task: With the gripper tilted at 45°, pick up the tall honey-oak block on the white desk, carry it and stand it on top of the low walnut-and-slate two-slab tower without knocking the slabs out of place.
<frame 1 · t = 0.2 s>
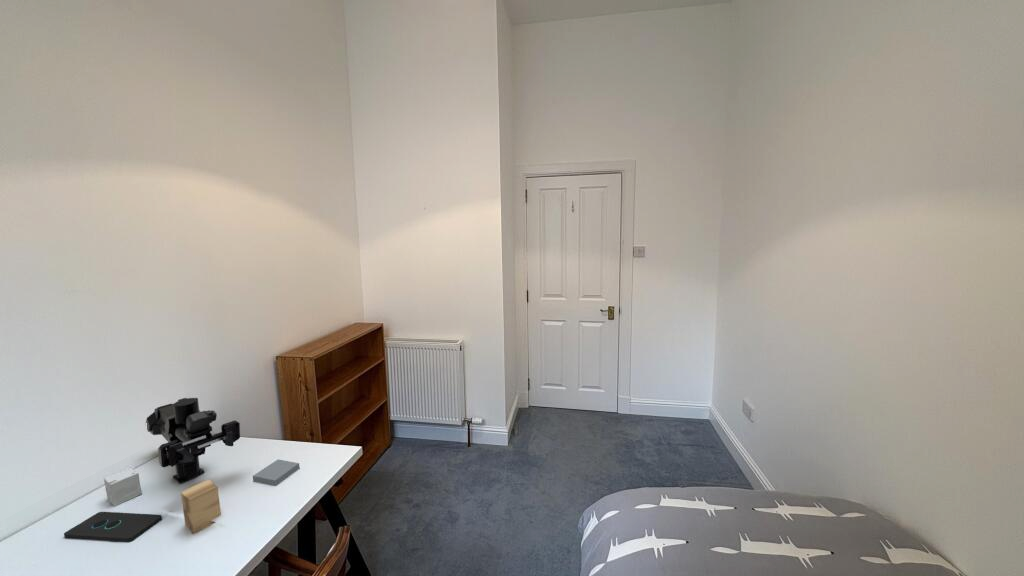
hand: (213, 451, 102), 16 cm above the table, tool horizontal, fingers open, 9 cm apart
smart home device: (115, 530, 95), on the table
skincare box: (124, 498, 107), on the table
slate top slab: (277, 475, 115), point 1 cm above the table, touching walnut base slab
honey oak block: (203, 522, 97), on the table
walnut base slab: (277, 480, 115), on the table, touching slate top slab
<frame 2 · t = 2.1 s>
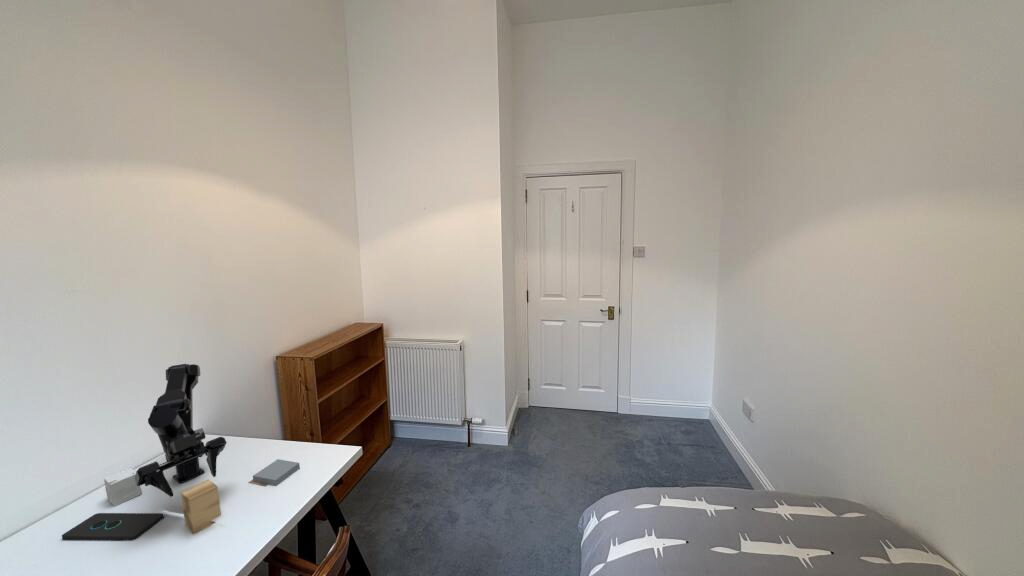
hand: (194, 485, 97), 10 cm above the table, tool tilted 45°, fingers open, 9 cm apart
nothing on the table moved.
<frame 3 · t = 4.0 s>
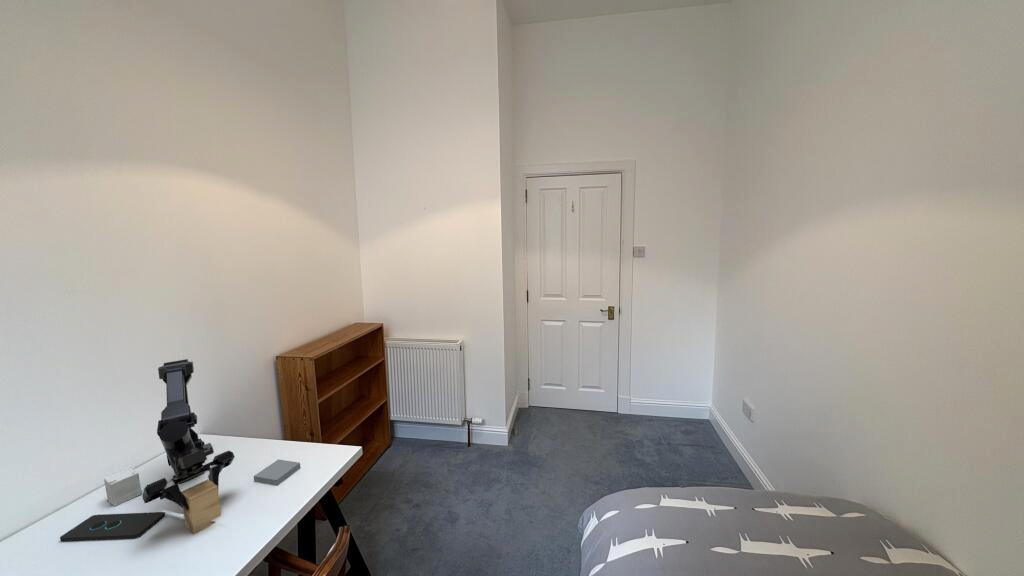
hand: (202, 502, 95), 7 cm above the table, tool tilted 45°, fingers closed on honey oak block, 6 cm apart
honey oak block: (203, 522, 97), on the table, touching gripper
everything else where it was.
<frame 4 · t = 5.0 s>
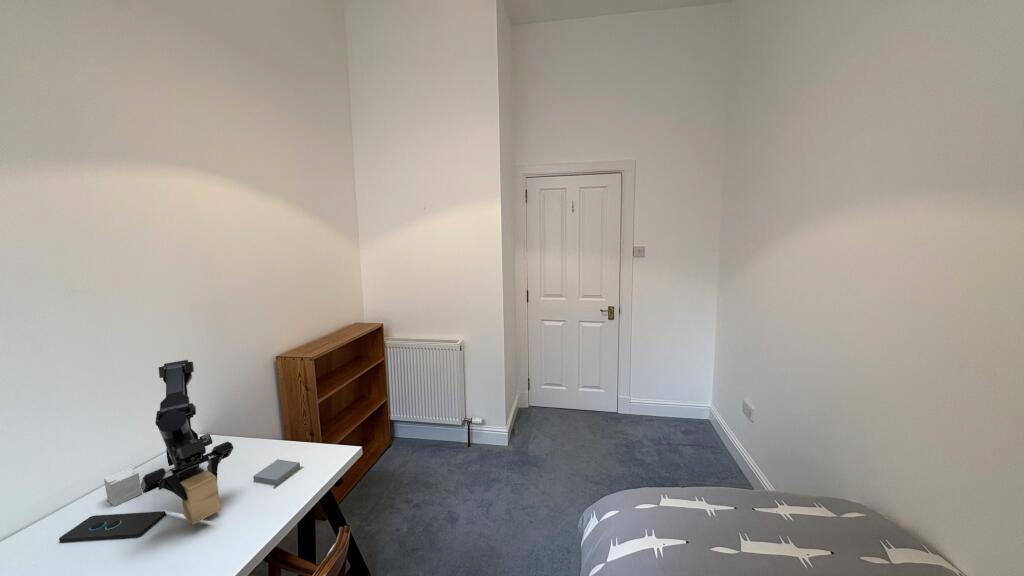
hand: (201, 492, 95), 9 cm above the table, tool tilted 45°, fingers closed on honey oak block, 6 cm apart
honey oak block: (202, 512, 97), point 3 cm above the table, touching gripper
everything else where it was.
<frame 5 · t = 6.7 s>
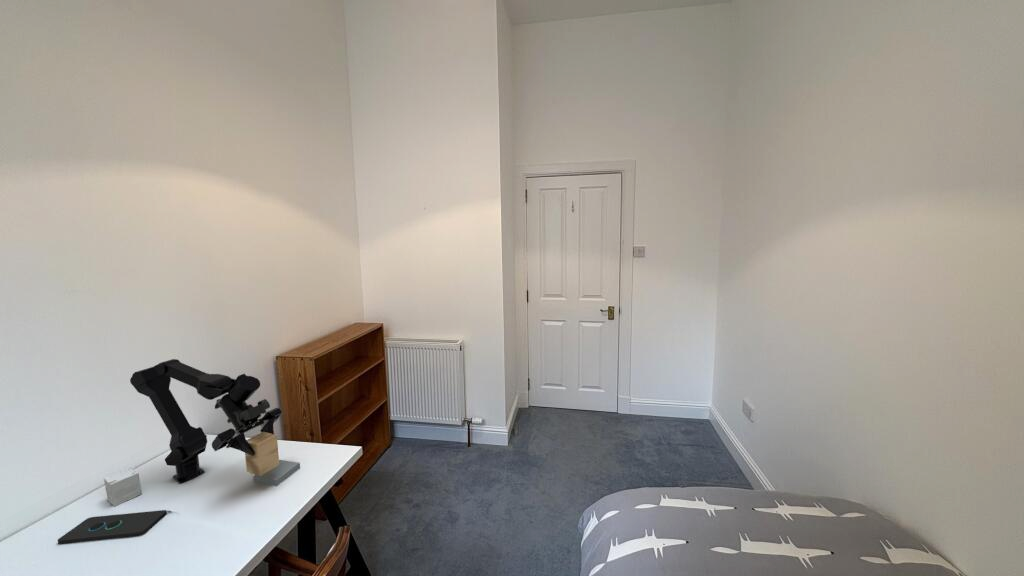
hand: (264, 449, 109), 13 cm above the table, tool tilted 45°, fingers closed on honey oak block, 6 cm apart
honey oak block: (263, 468, 110), point 7 cm above the table, touching gripper
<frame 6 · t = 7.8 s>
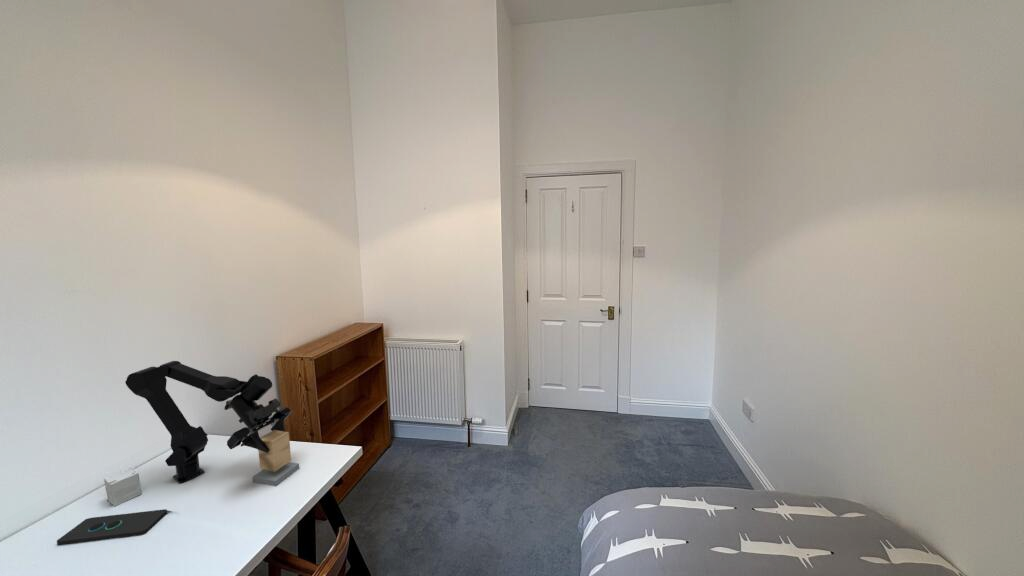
hand: (277, 446, 113), 12 cm above the table, tool tilted 45°, fingers closed on honey oak block, 6 cm apart
honey oak block: (276, 464, 114), point 5 cm above the table, touching gripper
when the fingers open (11 cm above the table, at t = 8.6 s): honey oak block drops 1 cm, point 3 cm above the table.
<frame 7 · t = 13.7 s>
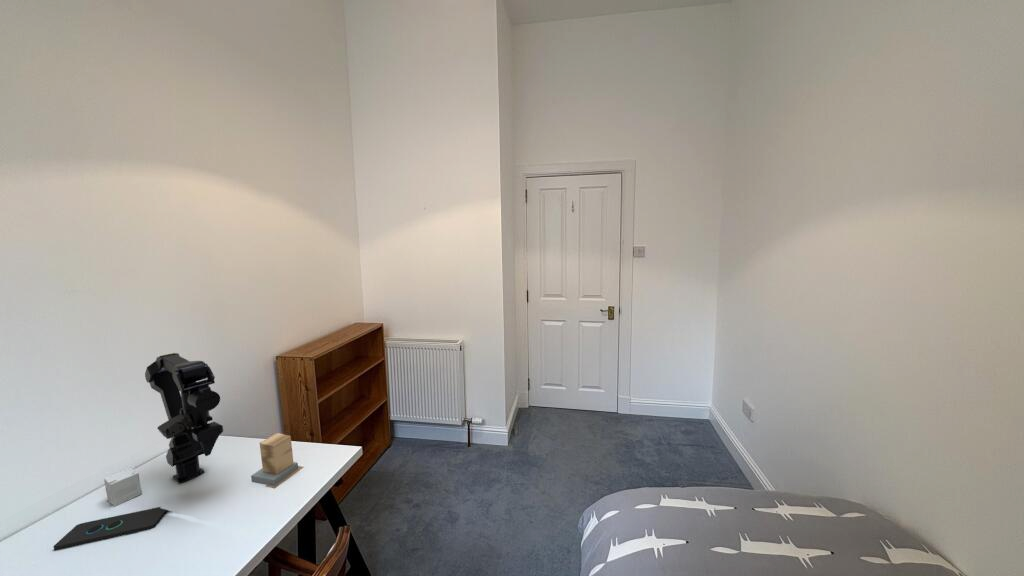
hand: (201, 451, 109), 13 cm above the table, tool pointing down, fingers open, 9 cm apart
honey oak block: (278, 467, 115), point 3 cm above the table
at the end: honey oak block 1.0 cm off-centre on the slate top slab, point 2.3 cm above the slate top slab's base; slate top slab moved 1.0 cm from its start; honey oak block tilted 6° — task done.
